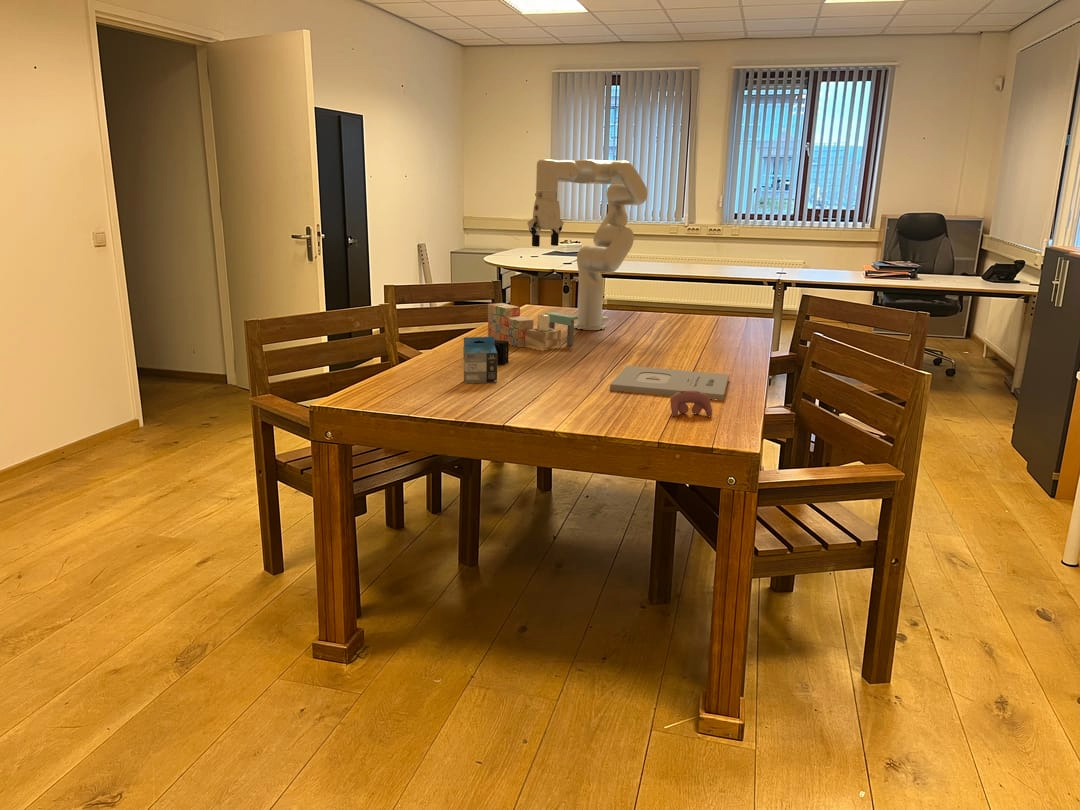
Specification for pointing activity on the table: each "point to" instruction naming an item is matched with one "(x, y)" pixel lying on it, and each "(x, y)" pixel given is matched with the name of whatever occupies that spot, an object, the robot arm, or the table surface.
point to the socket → (542, 339)
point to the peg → (543, 322)
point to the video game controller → (694, 397)
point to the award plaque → (669, 382)
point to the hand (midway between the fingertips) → (545, 246)
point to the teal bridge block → (563, 320)
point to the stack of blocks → (507, 324)
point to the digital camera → (500, 351)
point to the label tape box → (480, 360)
